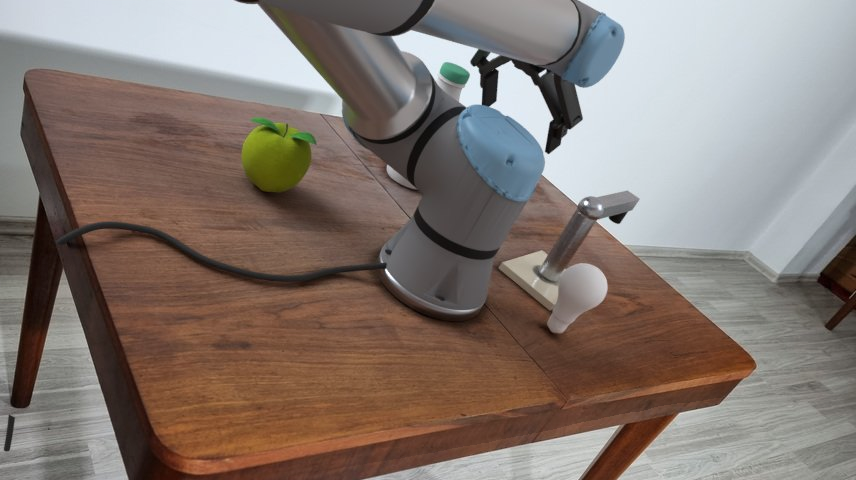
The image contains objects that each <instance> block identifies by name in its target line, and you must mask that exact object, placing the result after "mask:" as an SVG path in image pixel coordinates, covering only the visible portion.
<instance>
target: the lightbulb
mask: <svg viewBox="0 0 856 480" xmlns="http://www.w3.org/2000/svg"><path fill="white" fill-rule="evenodd" d="M565 269H566V270H565V271H564V272H563V274H562V275H561V277H560V280H559V287H558V299H557V302H556V304H555V306H554V308H553V310H551V311H552V313H551V314H550V316H549V317H548V320H547V322H546V325H547V327H548V328H549V331H550V332H551V333H553V334H563V333H564V332H565V331H566V330H567V329H568V327H569V326H570V324H573V323H574V322H575V321H576V319H577V318H579V316H580V315H582V314H584V313H585V312H587V311H590V310H593V309H594V308H596V307H598V306H599V305H600V304H601V303H603V301H604V300H605V299H606V296H607V294H608V280H607V278H606V276H605V274H604V273H603V271H602V270H601V269H600V268H599V267H597V266H595V265H593V264H590V263H584V262H580V263H575V264H573V265H571V266H569V267H567V268H565Z"/></svg>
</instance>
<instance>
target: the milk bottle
mask: <svg viewBox="0 0 856 480" xmlns="http://www.w3.org/2000/svg"><path fill="white" fill-rule="evenodd" d="M470 77H471V74H470V72H469V71H468V70H467V69H466V68H464V67H463V66H461V65H458V64H457V63H453V62H449V61H445V62H443V63H442V65H441V66H440V68H439V73H437V80H435V81H436V83H437V84H438V86H439V87H440V88H441V89H442V90H443V91H444V92H446V93H447V94H448V95H450V96H451V97H452V98H454V99H455V100H457V101H458V102H460V98H461V93H462V90H463V89H464V88H465V87H466V84H467V83H468V81H469V79H470ZM386 173H387V175H388V176H389V178H391V179H392V180H393V181H395V182H396V183H397V184H399V185H401V186H403V187H406V188H408V189H412V190H418V189H417V188H415V187H414V186H413V185H412V184H411V183H410V182H409V181H407V180H406V179H405V178H404V177H402V176H401V175H400V174H399V173H397V172H396V171H395V170H394V169H392V168H391V167H390V166H389V165H388V164H386ZM418 191H419V190H418Z"/></svg>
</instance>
